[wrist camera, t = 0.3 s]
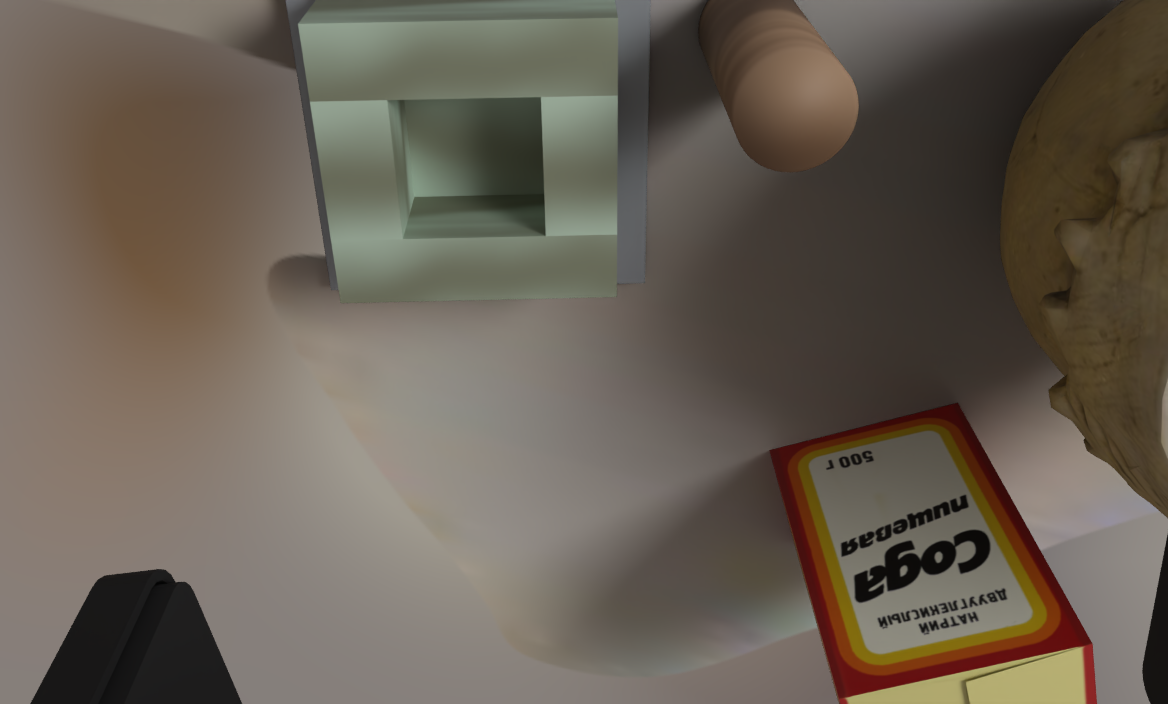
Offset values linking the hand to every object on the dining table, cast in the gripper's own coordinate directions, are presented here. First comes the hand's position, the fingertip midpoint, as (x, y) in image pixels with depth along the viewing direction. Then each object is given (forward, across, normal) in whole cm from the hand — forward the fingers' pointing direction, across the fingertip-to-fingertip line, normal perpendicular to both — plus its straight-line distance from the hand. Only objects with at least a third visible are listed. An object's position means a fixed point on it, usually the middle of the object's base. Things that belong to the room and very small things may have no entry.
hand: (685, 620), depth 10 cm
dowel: (+36, -6, +4) cm, 36 cm away
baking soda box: (+36, -11, +28) cm, 47 cm away
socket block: (+35, +5, +6) cm, 36 cm away
